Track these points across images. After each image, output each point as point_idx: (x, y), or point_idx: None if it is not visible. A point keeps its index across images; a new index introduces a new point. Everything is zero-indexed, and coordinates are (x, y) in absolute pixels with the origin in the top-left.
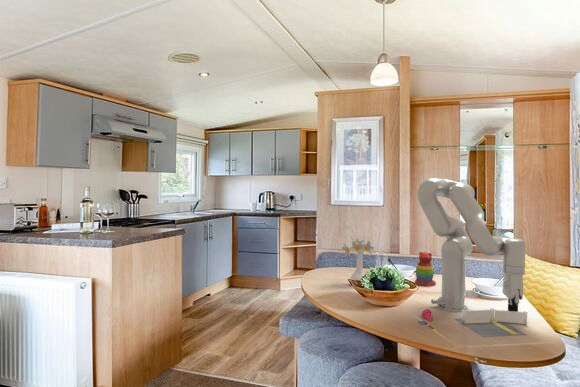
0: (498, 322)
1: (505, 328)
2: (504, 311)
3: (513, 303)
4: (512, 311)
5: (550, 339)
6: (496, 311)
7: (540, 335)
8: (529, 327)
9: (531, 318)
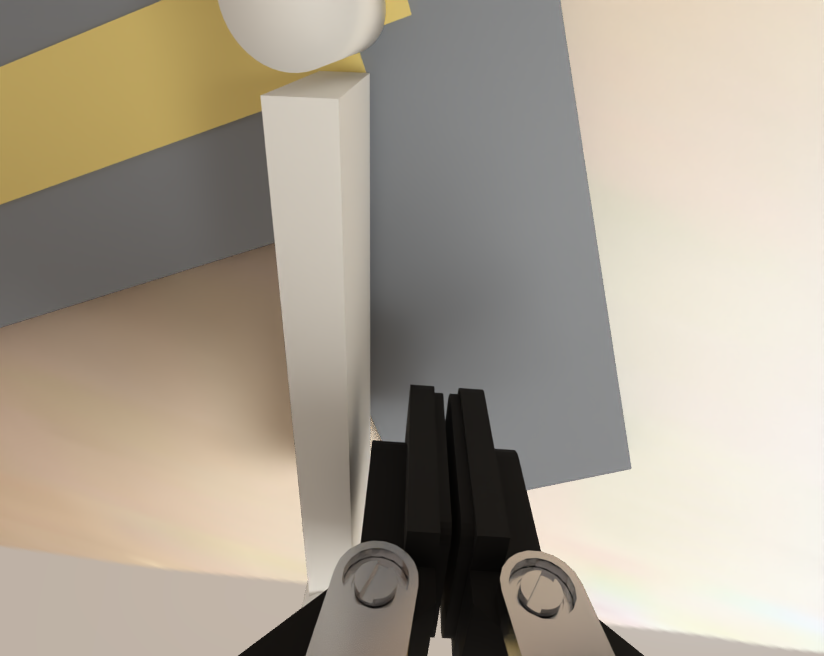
0: None
1: (13, 133)
2: (284, 314)
3: (254, 647)
4: (318, 461)
5: (8, 513)
6: (273, 117)
7: (83, 477)
8: None
9: (620, 584)
